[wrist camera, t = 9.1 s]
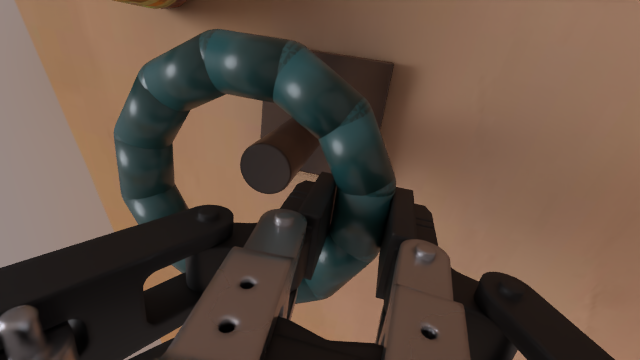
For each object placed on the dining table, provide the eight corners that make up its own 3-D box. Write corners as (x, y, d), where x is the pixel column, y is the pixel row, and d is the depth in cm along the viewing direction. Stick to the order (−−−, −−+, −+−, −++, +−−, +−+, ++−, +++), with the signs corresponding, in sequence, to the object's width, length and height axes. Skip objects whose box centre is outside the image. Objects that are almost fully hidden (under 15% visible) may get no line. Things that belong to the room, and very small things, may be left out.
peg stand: (394, 62, 23) (390, 80, 12) (369, 178, 27) (348, 276, 16) (273, 44, 25) (166, 44, 13) (265, 156, 28) (176, 232, 17)
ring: (425, 59, 11) (431, 63, 9) (362, 310, 15) (357, 346, 13) (129, 14, 12) (81, 9, 10) (151, 251, 17) (121, 277, 15)
